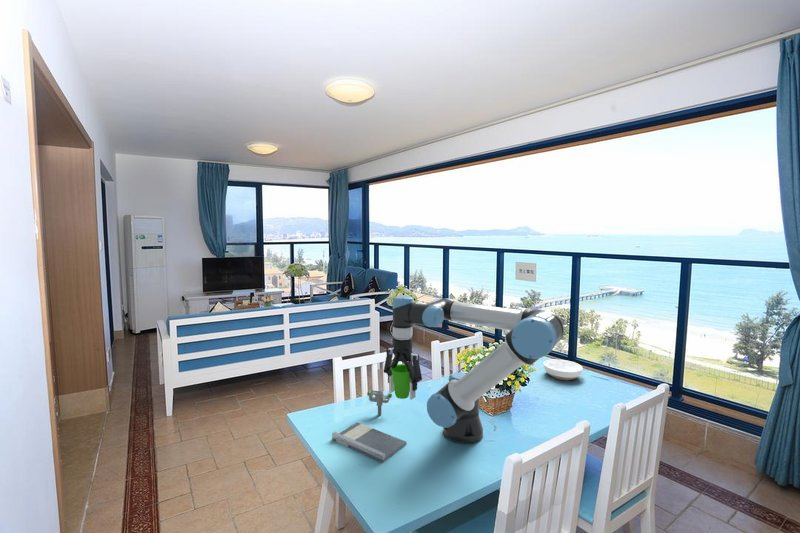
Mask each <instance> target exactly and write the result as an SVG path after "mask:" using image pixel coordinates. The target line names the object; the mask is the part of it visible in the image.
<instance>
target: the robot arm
mask: <svg viewBox="0 0 800 533" xmlns="http://www.w3.org/2000/svg"><path fill="white" fill-rule="evenodd" d="M444 320H445V321H451V322H458V323H462V324H468V325H474V326H480V327H486V328H487V327H488V328H492V329H497V330H503V331H509V332H507V333H506V334H505V335H504V342H503V343H502V344H501V345H499V346H498V347H496V349H494V350H493V351H492V352H491V353H490V354H488V355H487V356H485V357H484V358H483V359H482V360H480V362H479V363H478V364H476V365H475V366H474V367H473V368H471V370H469V371H468V372H466V373H465V372H453V373H449V376H448V382H447V383H446V384H445V385H444V386H442V387H441V388H439V389H438V391H436V392H435V393H433V394H431V396H430V397H429V398H428V399H427V401H426V411H427V412H426V413H427V414H428V416H429V419H430V420H431V421H432V422H433V423H434V424H435V425H436V426H438V427H441V428H442V429H443V431H442V433H443V435H444V436H445V438H447V439H448V440H450V441H452V442H455V443H459V444H473V443H477V442H480V440H482V439H483V436H484V428H483V425H482V420H481V418H480V398H481V397H483V396H484V395H485V394H487V393H488V392H489V391H490V390H491V389H493V388H494V387H496V386H497V385H498V384H500V383H501V382H502V381H503V380H505V379H506V378H507V377H508V376H510V375H511V374H513V373H514V372H515V371H516V370H518V369H519V368H520V367H521V366H523V365H527V366H531V365H532V364H534V363H535V362H538V360H540V359H542V358H543V357H546V356H547V355H549V354H550V353H551V352H552V351H553V349H554V348H555V346H557V344H559V342H560V341H561V340H562V338H563V336H564V333H565V326H564V323H563V321H562V319H561V318H560V317H559V315H558V314H556V313H554V312H553V311H550V310H548V309H547V310H546V309H538V308H529V307H528V308H526V307H524V308H523V309H522V310H521V309H515V308H506V307H498V306H491V305H485V304H476V303H468V302H462V301H455V300H453V299H451V298H449V297H448V298H441V299H438V300H435V301H432V302H428V303H425V304H422V303H416V302H414V298H413V297H412V296H409V295H397V296H395V297H394V298H393V300H392V347H389V348H387V349H386V350H385V351H386V357H385V361H384V362H385V363H384V366H383V373H384V374H386V375H387V383H388V384H389V385H388V386H389V387H388V389H389V390H388V393H390V394H393V392H394V393H395V390H394V383H393V377H392V371H391V369H390V368H391V367H392V368H395V367H396V366H397V364H399V362H402V364H405V365H406V367H407V370H408V372H409V375H410V378H411V382H410V392H409V400H414V399H415V398H416V391H417V390H418V383H419V382H420V381H422V380H423V377H422V371H421V366H420V354H418V353H417V354H415V353H413V328H414V326H413V324H414V325H419V326H423V327H428V328H439V327H440V326H442V324H443V322H444Z"/></svg>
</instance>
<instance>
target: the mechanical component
mask: <svg viewBox="0 0 800 533" xmlns="http://www.w3.org/2000/svg"><path fill="white" fill-rule="evenodd" d="M392 394H393V393H389V392H388V393H387V395H385V393H384V391H381V390H374V389H373V390H372V389H370V391H367V394H366V395H367V397H368V400H369V401H370V402H371V403H376V406H377V416H378V417H381V415H382V406H383V405H384V404H388V403H389V402H390V400H391V399H392V396H393V395H392Z"/></svg>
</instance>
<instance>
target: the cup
mask: <svg viewBox="0 0 800 533" xmlns="http://www.w3.org/2000/svg"><path fill="white" fill-rule="evenodd" d="M390 369H391V371H392V377H393V383H394V390H395V391H394V395H395V397H396V398H397V399H399V400H404V399H408V398H409V397H410V382H411V378H410V375H409V372H408V370H407V367H406V365H405V364H404V363H398V364H397V366H396V367H395V368H392V367H391V368H390Z"/></svg>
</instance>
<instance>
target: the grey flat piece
mask: <svg viewBox="0 0 800 533" xmlns="http://www.w3.org/2000/svg"><path fill="white" fill-rule="evenodd" d="M331 434H332V435H331V440H332V441H334V442H336V443H338V444H341V445H343V446H345V447H347V448H349V449H352V450H354V451H356V452H358V453H360V454H362V455H365V456H367V457H369V458H372V459H374V460H375V461H377V462H380V463H381V464H382V463H384V462H385V461H387V460H388V459H389V458H391V457H392V456H394V455H395V454H397V452H399V451H400V450H401V449H403V448H404V447H405V446H407V441H405V440H403V439H401V438H397V437H395V436H393V435H390V434H388V433H385V432H384V431H380V430H378V429H375V428H372V427H370V426H367V425H365V424H363V423H361V422H359V421H358V422H355V423H354V424H352V425H351V426H349V427H348V428H346V429H344V430H342V431H340V432H337V431H334V432H332V433H331Z"/></svg>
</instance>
